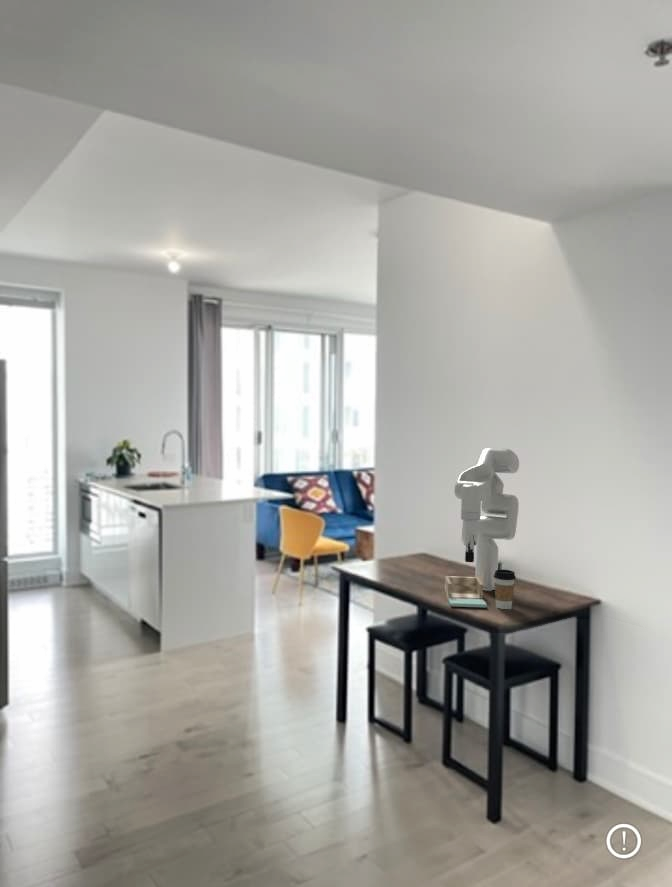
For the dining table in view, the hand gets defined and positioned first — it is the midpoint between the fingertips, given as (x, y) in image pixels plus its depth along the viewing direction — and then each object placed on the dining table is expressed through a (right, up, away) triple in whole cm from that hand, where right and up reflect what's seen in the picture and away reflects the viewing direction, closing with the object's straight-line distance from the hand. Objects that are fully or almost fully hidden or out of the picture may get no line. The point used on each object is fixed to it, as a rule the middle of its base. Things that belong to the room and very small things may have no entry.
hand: (469, 561), depth 267 cm
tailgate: (0, -18, +7) cm, 19 cm away
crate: (0, -17, +15) cm, 23 cm away
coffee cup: (+14, -19, 0) cm, 23 cm away
